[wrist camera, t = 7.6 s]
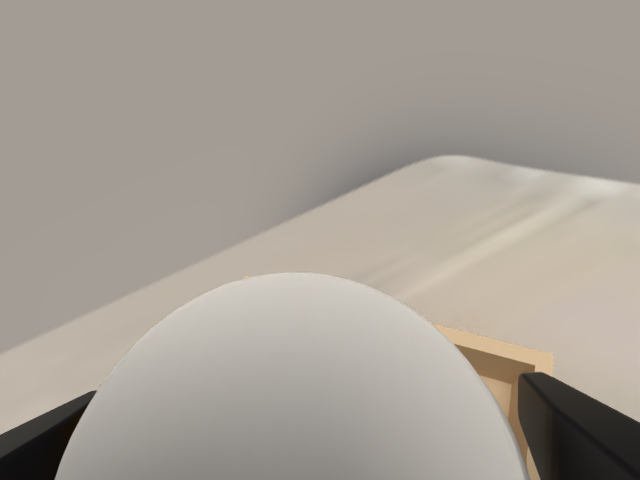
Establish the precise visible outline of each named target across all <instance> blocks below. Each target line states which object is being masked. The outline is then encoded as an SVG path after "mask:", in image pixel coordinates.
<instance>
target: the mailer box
mask: <svg viewBox="0 0 640 480" xmlns="http://www.w3.org/2000/svg"><path fill="white" fill-rule="evenodd" d="M246 278H250V277H249V276H246V277H245V279H246ZM431 324H432V325H434V326H435V327H436V328H437V329H438V330H439V331H440V332H441V333H443V334H444V335H445V336H446V337H447V338H448V339H449V340H450V341H451V342H452V343H453V344H454V345H455V346H456V347H457V348H458V349H459V351H460V352H461V353H462V354H463V355H464V357H465V358H466V359H467V360H468V361H469V363H470V364H471V365H472V367H473V368H474V370H475V371H476V372H477V374H478V375H479V376H480V377H481V379H482V380H483V381H484V382H485V384H486V385H487V386H488V388H489V389H490V391H491V392H492V394H493V395H494V397H495V398H496V400H497V401H498V403H499V405H500V406H501V408H502V410H503V412H504V414H505V416H506V418H507V420H508V422H509V424H510V426H511V428H512V430H513V432H514V434H515V436H516V439H517V441H518V444H519V447H520V449H521V452H522V455H523V457H524V460H525V463H526V467H527V470H528V473H529V477H530V480H540V477H539V474H538V471H537V469H536V466H535V463H534V461H533V458H532V455H531V452H530V450H529V447H528V444H527V441H526V439H525V436H524V433H523V431H522V428H521V425H520V422H519V417H518V377H519V375H520V374H521V373H524V372H544V373H546V374H548V375H550V376H552V373H553V359H554V354H550V353H546V352H542V351H538V350H534V349H530V348H526V347H523V346H519V345H515V344H511V343H507V342H503V341H499V340H495V339H491V338H487V337H483V336H480V335H476V334H472V333H468V332H464V331H460V330H456V329H452V328H448V327H444V326H440V325H437V324H433V323H431Z"/></svg>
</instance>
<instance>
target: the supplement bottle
mask: <svg viewBox="0 0 640 480" xmlns="http://www.w3.org/2000/svg"><path fill="white" fill-rule="evenodd" d="M55 480H530V477H529V473H528V470H527V467H526V463H525V460H524V457H523V455H522V452H521V449H520V447H519V444H518V441H517V439H516V436H515V434H514V432H513V430H512V428H511V426H510V424H509V422H508V420H507V418H506V416H505V414H504V412H503V410H502V408H501V406H500V405H499V403H498V401H497V400H496V398H495V397H494V395H493V394H492V392H491V391H490V389H489V388H488V386H487V385H486V384H485V382H484V381H483V380H482V379H481V377H480V376H479V375H478V374H477V372H476V371H475V370H474V368H473V367H472V365H471V364H470V363H469V361H468V360H467V359H466V358H465V357H464V355H463V354H462V353H461V352H460V351H459V349H458V348H457V347H456V346H455V345H454V344H453V343H452V342H451V341H450V340H449V339H448V338H447V337H446V336H445V335H444V334H443V333H441V332H440V331H439V330H438V329H437V328H436V327H435V326H434V325H432V324H431V323H430V322H429V321H428V320H427V319H426V318H424V317H423V316H422V315H420V314H419V313H418V312H416V311H415V310H414V309H413V308H411V307H410V306H408V305H406V304H404V303H402V302H400V301H398V300H397V299H395V298H393V297H391V296H389V295H387V294H386V293H384V292H382V291H380V290H377V289H375V288H372V287H370V286H368V285H365V284H362V283H359V282H356V281H352V280H349V279H346V278H341V277H336V276H330V275H325V274H318V273H308V272H285V273H273V274H266V275H260V276H254V277H250V278H246V279H242V280H238V281H234V282H230V283H228V284H225V285H223V286H220V287H218V288H216V289H213V290H211V291H209V292H207V293H205V294H202V295H200V296H198V297H196V298H194V299H193V300H191V301H189V302H188V303H186V304H184V305H183V306H181V307H179V308H178V309H176V310H174V311H173V312H172V313H170V314H169V315H168V316H166V317H165V318H164V319H163V320H161V321H160V322H159V323H157V324H156V325H155V326H154V327H152V328H151V329H150V330H149V331H148V332H147V333H145V334H144V335H143V336H142V337H141V338H140V339H139V340H138V341H137V342H136V343H135V344H134V345H133V346H132V347H131V348H130V349H129V350H128V352H127V353H126V354H125V355H124V356H123V357H122V358H121V359H120V360H119V362H118V363H117V364H116V365H115V366H114V368H113V369H112V370H111V372H110V373H109V374H108V376H107V377H106V378H105V380H104V381H103V383H102V384H101V385H100V387H99V389H98V390H97V392H96V393H95V395H94V397H93V398H92V400H91V402H90V403H89V405H88V407H87V408H86V410H85V412H84V414H83V415H82V417H81V419H80V421H79V423H78V424H77V426H76V428H75V430H74V432H73V434H72V436H71V438H70V440H69V443H68V445H67V447H66V450H65V452H64V455H63V457H62V459H61V462H60V465H59V468H58V471H57V474H56V477H55Z"/></svg>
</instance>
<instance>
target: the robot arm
mask: <svg viewBox="0 0 640 480" xmlns="http://www.w3.org/2000/svg"><path fill="white" fill-rule="evenodd" d="M96 392H97V391H91V392H88V393H86V394H84V395H82V396H80V397H78V398H76V399H74V400H72V401H70V402H67V403H65V404H63V405H61V406H59V407H57V408H55V409H53V410H51V411H49V412H47V413H45V414H43V415H40V416H38V417H36V418H34V419H32V420H30V421H28V422H26V423H24V424H22V425H20V426H18V427H16V428H13V429H11V430H9V431H7V432H5V433H3V434H1V435H0V480H55V477H56V474H57V471H58V468H59V465H60V462H61V459H62V457H63V455H64V452H65V450H66V447H67V445H68V443H69V440H70V438H71V436H72V434H73V432H74V430H75V428H76V426H77V424H78V423H79V421H80V419H81V417H82V415H83V414H84V412H85V410H86V408H87V407H88V405H89V403H90V402H91V400H92V398H93V397H94V395H95V393H96ZM518 417H519V422H520V425H521V428H522V431H523V433H524V436H525V439H526V441H527V444H528V447H529V450H530V452H531V455H532V458H533V461H534V463H535V466H536V469H537V471H538V474H539V477H540V480H640V422H638V421H636V420H634V419H632V418H630V417H628V416H626V415H624V414H622V413H620V412H619V411H617V410H615V409H613V408H611V407H609V406H607V405H605V404H603V403H601V402H599V401H598V400H596V399H594V398H592V397H590V396H588V395H586V394H584V393H582V392H580V391H578V390H576V389H575V388H573V387H571V386H569V385H567V384H565V383H563V382H561V381H559V380H557V379H555V378H553V377H552V376H550V375H548V374H546V373H544V372H524V373H521V374H520V375H519V377H518Z"/></svg>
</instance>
